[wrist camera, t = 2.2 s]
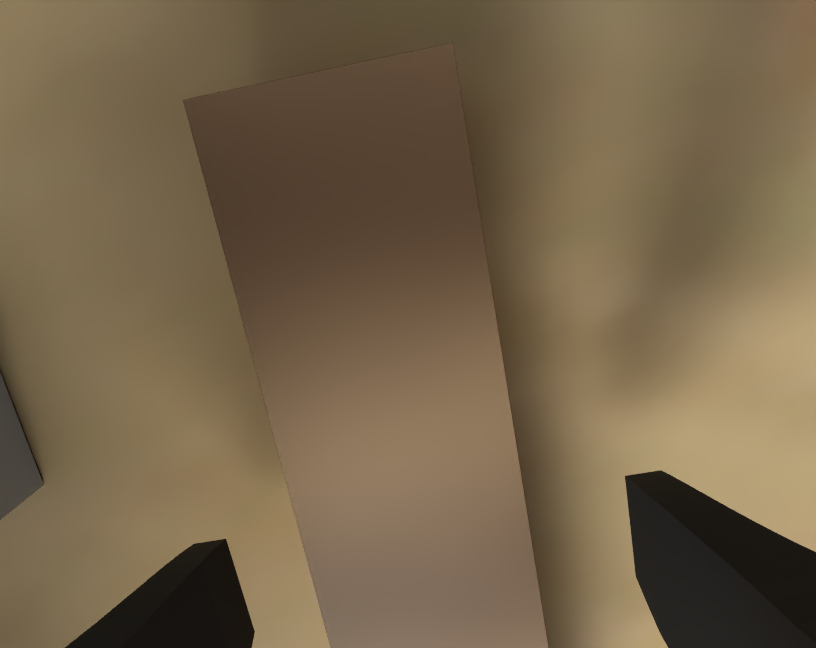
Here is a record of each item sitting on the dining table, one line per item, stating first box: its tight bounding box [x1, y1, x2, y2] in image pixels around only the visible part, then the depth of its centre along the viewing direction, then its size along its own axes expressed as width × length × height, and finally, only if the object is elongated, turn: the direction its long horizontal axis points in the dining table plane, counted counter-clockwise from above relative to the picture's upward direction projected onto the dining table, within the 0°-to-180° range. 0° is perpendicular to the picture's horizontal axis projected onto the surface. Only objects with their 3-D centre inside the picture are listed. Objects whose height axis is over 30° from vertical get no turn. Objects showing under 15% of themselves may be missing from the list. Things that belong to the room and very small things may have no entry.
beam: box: [183, 43, 548, 648], centre depth 11 cm, size 16×4×4 cm, turn 11°
